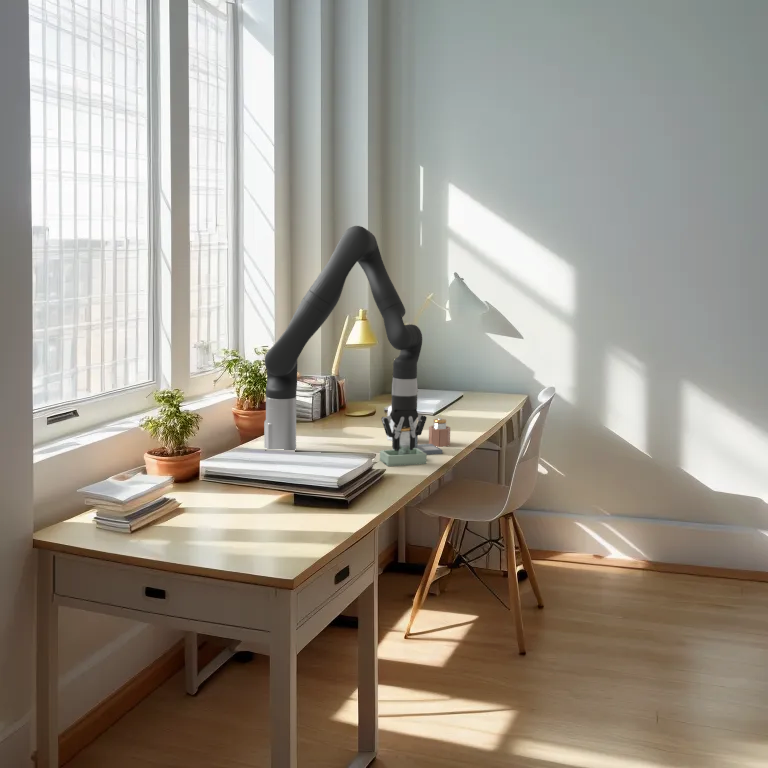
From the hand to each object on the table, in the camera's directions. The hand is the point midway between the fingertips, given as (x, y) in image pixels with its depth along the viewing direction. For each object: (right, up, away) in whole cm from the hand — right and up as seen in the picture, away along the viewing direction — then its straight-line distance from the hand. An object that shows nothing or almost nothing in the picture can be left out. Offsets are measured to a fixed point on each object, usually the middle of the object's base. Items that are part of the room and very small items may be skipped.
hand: (403, 449), depth 262 cm
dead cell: (+12, 0, +23) cm, 26 cm away
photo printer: (0, 0, +27) cm, 27 cm away
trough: (0, -4, 0) cm, 4 cm away
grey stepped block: (+5, -2, +13) cm, 14 cm away
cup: (+12, 0, +23) cm, 26 cm away
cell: (0, -1, 0) cm, 1 cm away
